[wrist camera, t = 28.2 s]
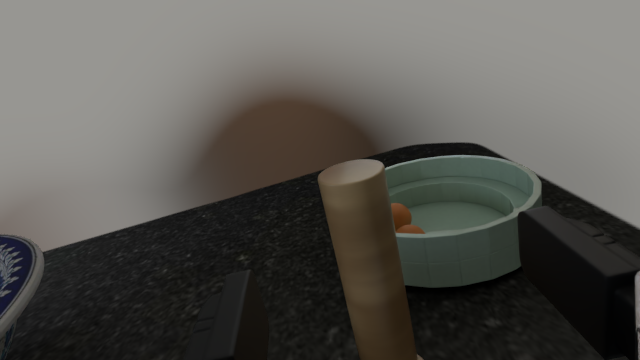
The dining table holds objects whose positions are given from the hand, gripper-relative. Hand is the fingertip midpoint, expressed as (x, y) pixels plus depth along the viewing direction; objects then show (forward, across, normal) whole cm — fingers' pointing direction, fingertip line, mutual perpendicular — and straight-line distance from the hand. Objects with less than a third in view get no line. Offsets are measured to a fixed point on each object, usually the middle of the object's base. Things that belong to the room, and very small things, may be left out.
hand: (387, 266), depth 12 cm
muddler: (+8, 0, +14) cm, 16 cm away
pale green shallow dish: (+24, -8, +14) cm, 28 cm away
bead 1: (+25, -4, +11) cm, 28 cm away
